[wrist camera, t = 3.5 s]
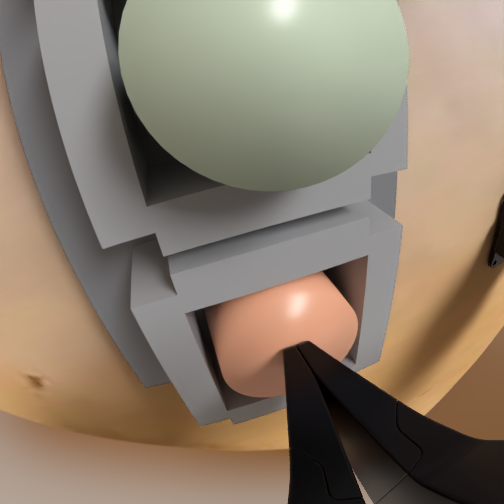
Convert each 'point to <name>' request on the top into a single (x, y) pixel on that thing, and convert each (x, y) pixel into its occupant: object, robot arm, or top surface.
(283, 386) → the terracotta button
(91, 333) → the top surface
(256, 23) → the sage button
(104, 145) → the button panel
